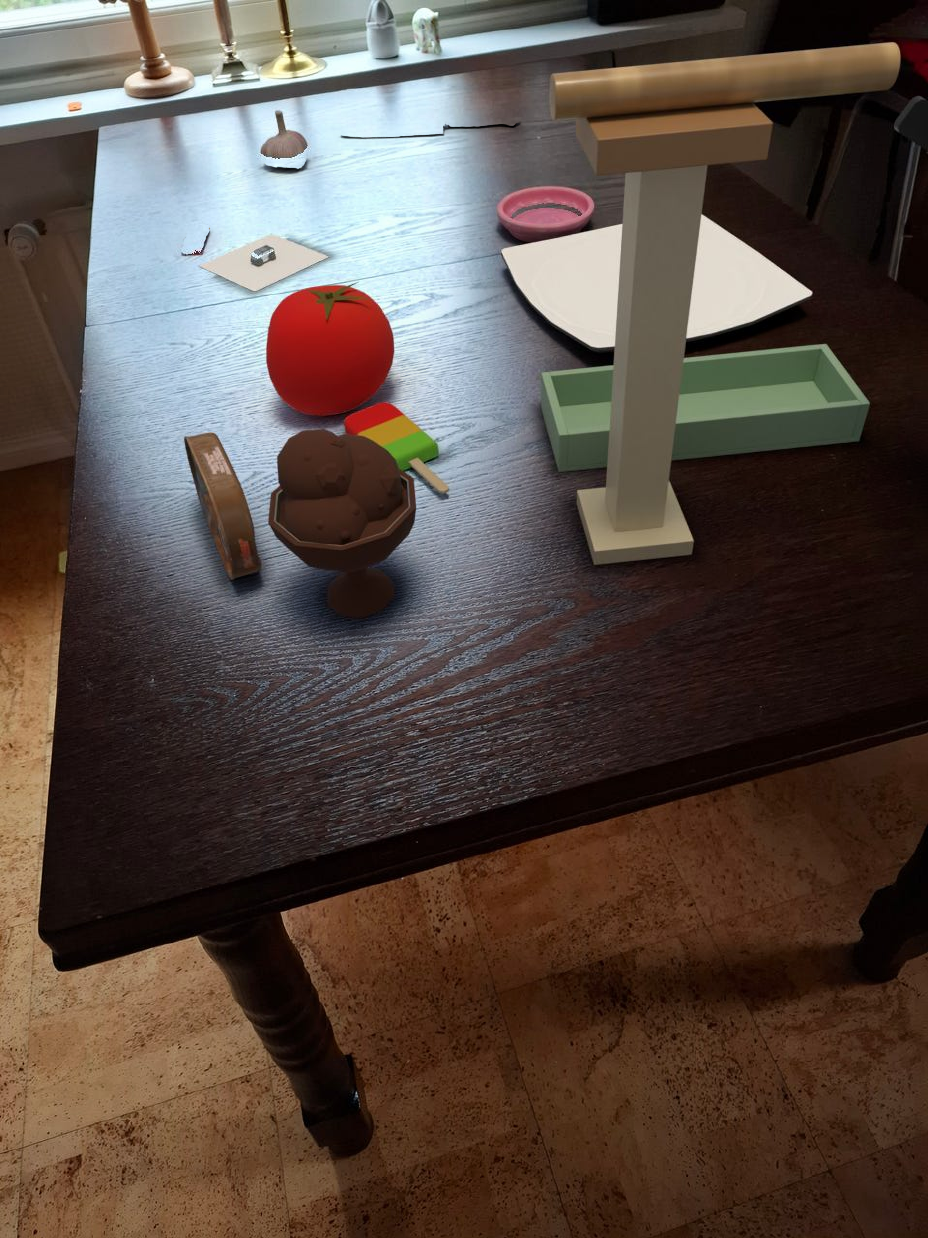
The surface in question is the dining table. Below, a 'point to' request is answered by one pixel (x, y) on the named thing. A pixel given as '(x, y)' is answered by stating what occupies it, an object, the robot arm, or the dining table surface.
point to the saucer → (545, 213)
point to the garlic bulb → (284, 141)
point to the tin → (223, 504)
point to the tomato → (328, 349)
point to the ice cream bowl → (343, 513)
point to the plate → (589, 279)
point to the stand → (655, 309)
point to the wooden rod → (723, 81)
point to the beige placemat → (263, 262)
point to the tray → (716, 406)
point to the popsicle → (397, 439)
